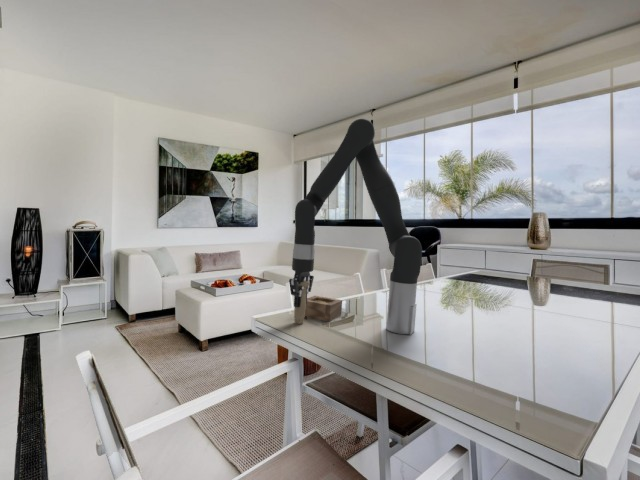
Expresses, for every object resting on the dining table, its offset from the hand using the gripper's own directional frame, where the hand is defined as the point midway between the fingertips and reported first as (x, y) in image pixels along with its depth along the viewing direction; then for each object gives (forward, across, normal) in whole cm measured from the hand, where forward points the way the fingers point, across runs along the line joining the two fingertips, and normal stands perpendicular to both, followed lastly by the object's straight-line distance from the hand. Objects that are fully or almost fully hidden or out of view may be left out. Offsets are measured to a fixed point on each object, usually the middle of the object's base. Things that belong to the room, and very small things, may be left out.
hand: (300, 305), depth 117 cm
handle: (+6, 0, 0) cm, 6 cm away
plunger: (+2, +14, -2) cm, 14 cm away
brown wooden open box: (+6, +14, -2) cm, 15 cm away
